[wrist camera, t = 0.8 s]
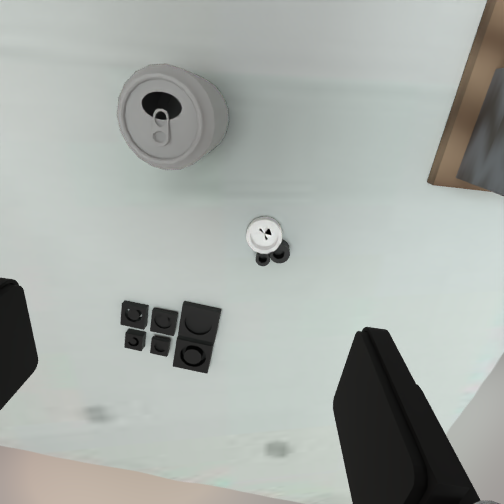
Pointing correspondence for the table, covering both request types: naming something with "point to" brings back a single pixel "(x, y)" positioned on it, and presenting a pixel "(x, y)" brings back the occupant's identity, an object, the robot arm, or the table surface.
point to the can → (171, 116)
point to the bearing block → (477, 115)
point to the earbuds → (198, 309)
